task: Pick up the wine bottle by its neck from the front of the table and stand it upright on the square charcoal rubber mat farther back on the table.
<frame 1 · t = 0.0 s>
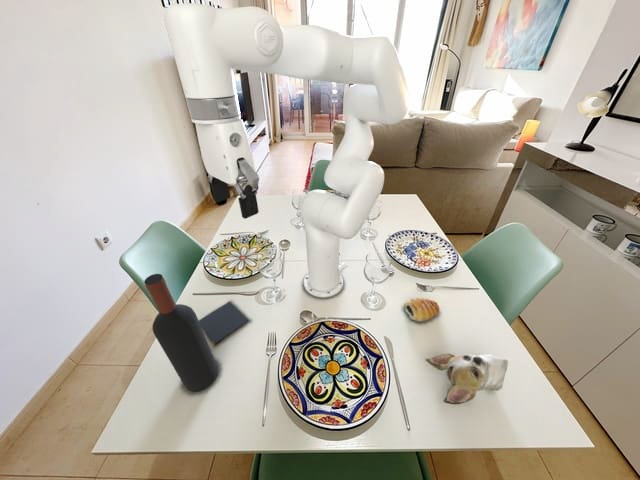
hand: (236, 207, 52), 37 cm above the table, tool pointing down, fingers open, 9 cm apart
ceramic sculpture: (463, 382, 60), on the table
wine bottle: (201, 375, 62), on the table
mat: (223, 322, 75), on the table
pastry: (419, 312, 76), on the table
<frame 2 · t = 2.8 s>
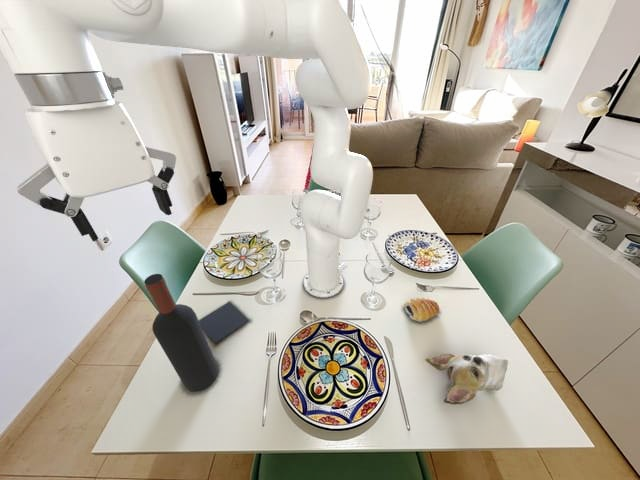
hand: (132, 223, 40), 41 cm above the table, tool pointing down, fingers open, 9 cm apart
nothing on the table moved.
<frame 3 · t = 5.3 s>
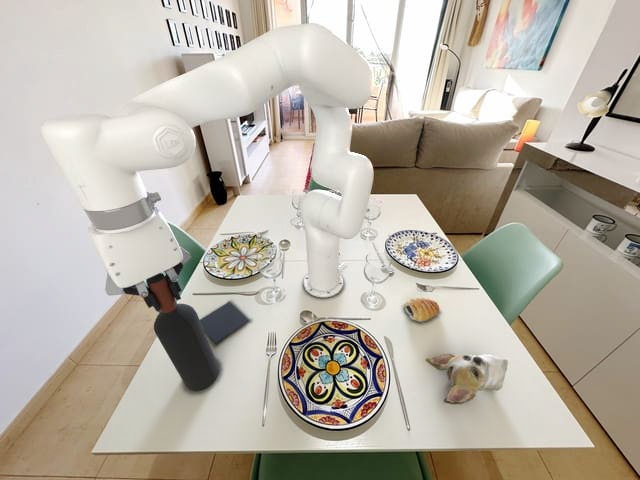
hand: (165, 300, 48), 25 cm above the table, tool pointing down, fingers closed on wine bottle, 2 cm apart
wine bottle: (202, 375, 62), on the table, touching gripper
everything else where it was.
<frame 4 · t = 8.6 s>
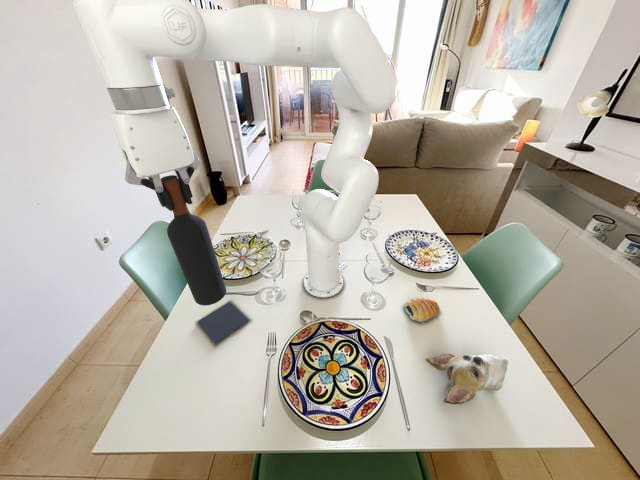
hand: (178, 204, 52), 37 cm above the table, tool pointing down, fingers closed on wine bottle, 2 cm apart
wine bottle: (210, 294, 66), point 12 cm above the table, touching gripper
everything else where it was.
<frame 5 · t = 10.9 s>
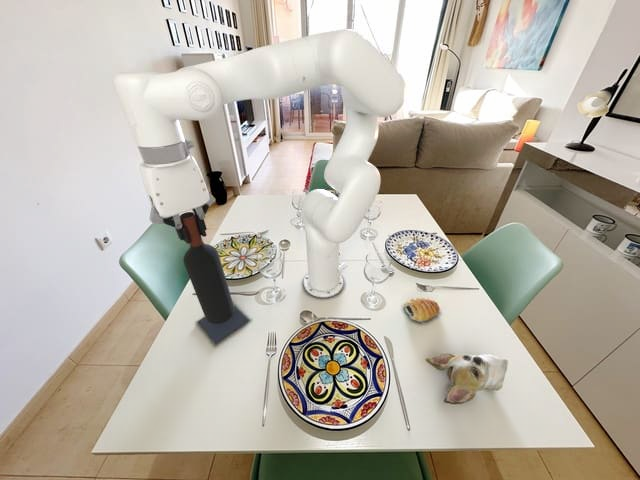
hand: (194, 236, 58), 28 cm above the table, tool pointing down, fingers closed on wine bottle, 2 cm apart
wine bottle: (220, 313, 72), point 4 cm above the table, touching gripper
everything else where it was.
when the fingers open (25 cm above the table, at t = 12.2 s): wine bottle stays where it is, resting on mat.
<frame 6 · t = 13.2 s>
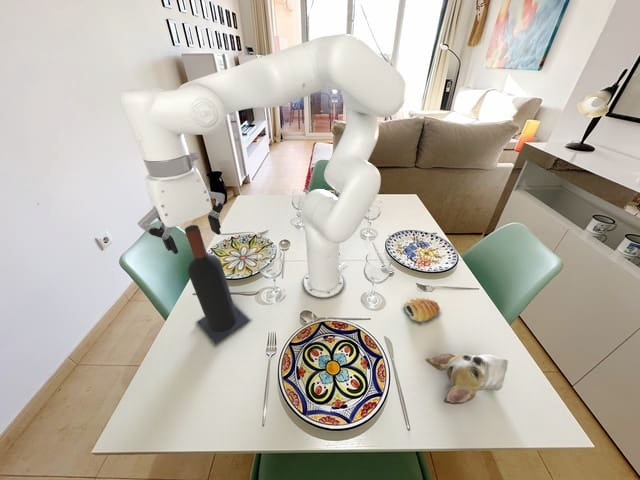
hand: (196, 241, 59), 27 cm above the table, tool pointing down, fingers open, 9 cm apart
wine bottle: (223, 320, 74), resting on mat
everything else where it was.
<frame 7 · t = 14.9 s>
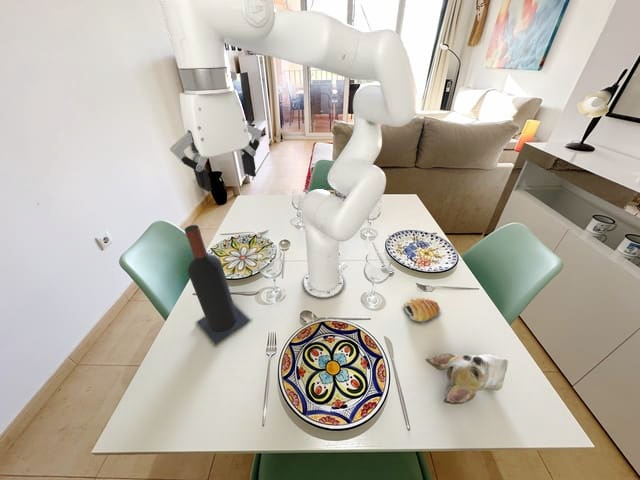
hand: (229, 181, 53), 40 cm above the table, tool pointing down, fingers open, 9 cm apart
nothing on the table moved.
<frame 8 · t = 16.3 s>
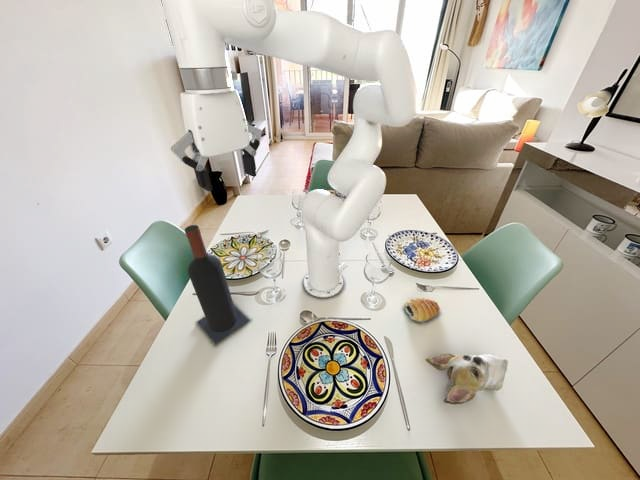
hand: (230, 181, 53), 40 cm above the table, tool pointing down, fingers open, 9 cm apart
nothing on the table moved.
at the end: wine bottle 0.1 cm off-centre on the mat, point 0.4 cm above the mat's base; wine bottle tilted 0°; the gripper is holding nothing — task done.
